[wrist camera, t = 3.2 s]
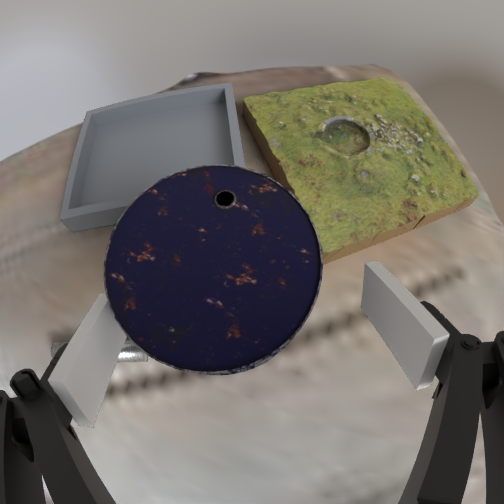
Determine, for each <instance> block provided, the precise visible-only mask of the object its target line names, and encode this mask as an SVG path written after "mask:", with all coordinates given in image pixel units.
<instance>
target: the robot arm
mask: <svg viewBox="0 0 504 504" xmlns="http://www.w3.org/2000/svg"><path fill="white" fill-rule="evenodd" d="M361 308H362V309H363V311H364V312H365V314H366V315H367V317H368V318H369V319H370V321H371V322H372V324H373V325H374V327H375V328H376V330H377V331H378V333H379V334H380V335H381V337H382V338H383V340H384V341H385V343H386V344H387V346H388V347H389V349H390V350H391V352H392V353H393V355H394V356H395V358H396V360H397V361H398V363H399V364H400V366H401V367H402V369H403V370H404V372H405V373H406V375H407V377H408V378H409V380H410V381H411V383H412V384H413V386H414V388H415V389H416V390H419V389H422V388H425V387H427V386H430V385H431V384H432V381H433V379H434V377H435V375H436V377H437V378H438V380H439V383H438V385H437V388H436V390H435V392H434V394H433V397H432V398H433V399H434V402H433V406H432V410H431V413H430V417H429V421H428V424H427V428H426V431H425V434H424V438H423V441H422V444H421V447H420V450H419V453H418V456H417V459H416V461H415V464H414V467H413V469H412V472H411V475H410V477H409V480H408V482H407V485H406V487H405V489H404V492H403V494H402V496H401V499H400V501H399V503H398V504H461V502H462V498H463V495H464V491H465V488H466V484H467V480H468V476H469V472H470V468H471V463H472V458H473V453H474V448H475V442H476V436H477V429H478V422H479V414H481V421H482V429H483V438H484V448H485V463H486V504H504V331H500V332H499V333H497V335H496V337H495V340H494V341H493V342H481V341H480V340H479V339H478V338H477V337H475V336H473V335H470V334H461V333H460V332H459V331H458V330H457V329H456V328H455V327H454V326H453V325H452V324H451V323H450V322H449V321H448V320H447V319H446V318H445V317H444V316H443V315H442V314H441V313H440V312H439V311H438V310H437V309H436V308H435V307H434V306H433V305H431V304H430V303H428V302H426V301H422V302H419V301H418V300H417V299H416V298H415V297H414V296H413V295H412V294H411V293H410V292H409V291H408V290H407V289H406V288H405V287H404V286H403V285H402V284H401V283H400V282H399V281H398V280H397V279H396V278H395V277H394V276H393V275H392V274H391V273H390V272H389V271H388V270H387V269H386V268H385V267H384V266H383V265H382V264H381V263H379V262H378V261H373V262H366V263H365V268H364V281H363V292H362V302H361ZM126 338H127V336H126V335H125V333H124V332H123V331H122V329H121V328H120V327H119V325H118V323H117V321H116V319H115V318H114V316H113V314H112V312H111V309H110V306H109V303H108V300H107V297H106V293H100V295H99V296H98V298H97V299H96V301H95V302H94V304H93V305H92V307H91V308H90V310H89V312H88V313H87V315H86V316H85V318H84V319H83V321H82V323H81V324H80V326H79V327H78V329H77V331H76V332H75V334H74V335H73V337H72V339H71V340H70V342H69V343H65V344H64V345H63V346H62V347H61V348H60V349H58V351H57V352H56V354H55V356H54V357H53V358H54V359H52V361H51V362H50V365H49V366H48V367H47V369H46V371H45V373H44V374H43V376H42V378H41V380H39V379H38V377H37V375H36V374H35V372H34V371H33V370H32V369H23V370H20V371H19V372H17V373H16V374H15V375H14V376H13V377H12V379H11V380H10V386H11V388H12V389H13V391H14V392H15V394H16V395H17V397H15V398H9V396H8V395H7V393H6V392H5V391H3V390H0V504H46V501H45V495H44V489H43V482H42V476H43V478H44V481H45V483H46V486H47V488H48V491H49V493H50V495H51V498H52V500H53V502H54V504H116V503H115V501H114V500H113V498H112V497H111V495H110V493H109V492H108V490H107V489H106V487H105V486H104V484H103V482H102V481H101V479H100V477H99V476H98V474H97V472H96V471H95V469H94V467H93V465H92V463H91V462H90V460H89V458H88V456H87V454H86V452H85V451H84V449H83V447H82V445H81V443H80V441H79V439H78V437H77V435H76V433H75V430H74V428H73V427H72V426H71V425H70V423H71V420H72V418H73V419H74V420H75V421H76V423H77V424H78V425H79V426H84V427H92V428H94V425H95V422H96V419H97V416H98V413H99V410H100V407H101V404H102V401H103V399H104V396H105V393H106V390H107V387H108V385H109V382H110V379H111V376H112V374H113V371H114V368H115V366H116V363H117V360H118V358H119V355H120V353H121V350H122V348H123V345H124V343H125V340H126ZM41 473H42V474H41Z"/></svg>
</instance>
